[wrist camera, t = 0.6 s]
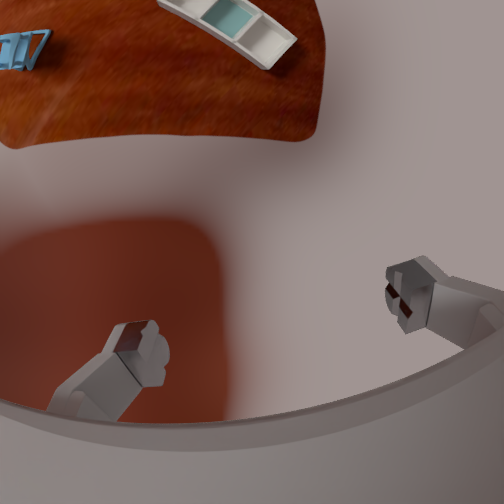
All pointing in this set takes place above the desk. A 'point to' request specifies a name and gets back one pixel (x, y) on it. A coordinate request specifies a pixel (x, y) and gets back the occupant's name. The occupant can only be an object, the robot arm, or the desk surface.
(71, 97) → the desk surface
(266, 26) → the well holder
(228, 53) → the desk surface
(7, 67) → the chair
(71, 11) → the desk surface
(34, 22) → the desk surface
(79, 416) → the robot arm
